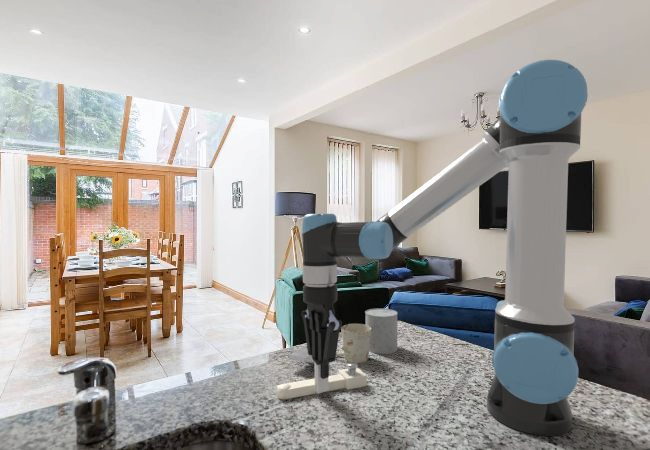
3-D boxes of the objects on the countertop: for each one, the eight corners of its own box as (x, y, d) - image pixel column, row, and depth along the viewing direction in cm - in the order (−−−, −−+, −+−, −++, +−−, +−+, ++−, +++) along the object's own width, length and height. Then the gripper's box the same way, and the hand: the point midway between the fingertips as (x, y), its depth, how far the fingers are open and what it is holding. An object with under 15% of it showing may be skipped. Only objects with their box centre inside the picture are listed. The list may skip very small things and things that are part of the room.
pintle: (359, 383, 86) (359, 363, 86) (354, 388, 84) (354, 367, 84) (350, 381, 88) (350, 361, 88) (344, 385, 85) (344, 364, 85)
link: (357, 377, 89) (356, 367, 89) (366, 386, 84) (366, 375, 84) (274, 392, 82) (274, 381, 82) (280, 402, 77) (279, 390, 77)
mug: (370, 371, 96) (370, 333, 96) (323, 367, 99) (323, 330, 99) (372, 359, 104) (372, 324, 104) (329, 356, 107) (329, 322, 107)
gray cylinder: (400, 359, 104) (400, 316, 104) (367, 359, 104) (366, 316, 104) (394, 347, 114) (394, 308, 114) (363, 347, 114) (363, 308, 114)
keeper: (323, 368, 98) (323, 348, 98) (304, 380, 91) (303, 358, 91) (309, 364, 101) (309, 345, 101) (288, 375, 94) (288, 354, 94)
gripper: (351, 286, 77) (353, 397, 77) (318, 278, 88) (319, 376, 88) (322, 290, 73) (323, 408, 73) (290, 281, 83) (292, 384, 84)
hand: (321, 390), depth 80 cm, fingers closed
